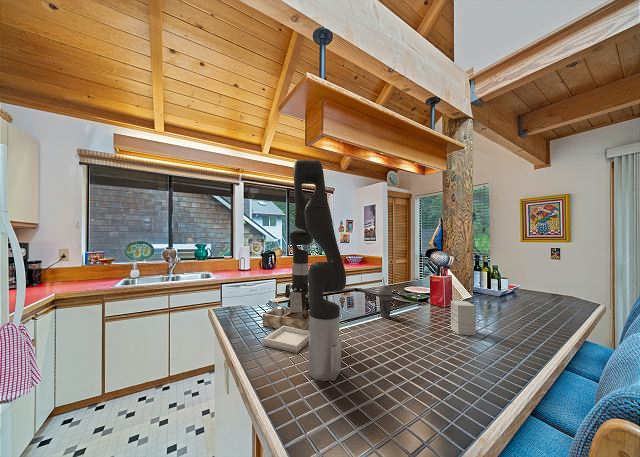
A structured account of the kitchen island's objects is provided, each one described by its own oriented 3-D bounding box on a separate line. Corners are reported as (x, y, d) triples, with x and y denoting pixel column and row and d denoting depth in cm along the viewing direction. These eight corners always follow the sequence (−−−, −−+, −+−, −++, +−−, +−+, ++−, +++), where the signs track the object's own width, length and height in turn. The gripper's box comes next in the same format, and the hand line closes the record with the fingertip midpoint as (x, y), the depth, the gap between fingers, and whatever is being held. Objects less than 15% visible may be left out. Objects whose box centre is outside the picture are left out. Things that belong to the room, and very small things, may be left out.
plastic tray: (313, 337, 97) (313, 331, 97) (296, 353, 84) (296, 345, 84) (283, 331, 103) (283, 325, 103) (263, 345, 90) (263, 338, 90)
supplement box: (467, 329, 110) (467, 301, 110) (476, 335, 102) (476, 305, 103) (450, 328, 110) (450, 300, 111) (457, 334, 103) (457, 304, 103)
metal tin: (287, 321, 115) (288, 306, 115) (282, 324, 110) (282, 309, 111) (278, 319, 117) (279, 305, 117) (272, 323, 112) (273, 307, 112)
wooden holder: (317, 322, 114) (317, 311, 114) (304, 333, 101) (304, 320, 101) (279, 316, 122) (279, 305, 122) (262, 325, 109) (262, 313, 109)
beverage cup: (394, 319, 120) (394, 279, 121) (379, 318, 121) (380, 278, 121) (390, 314, 128) (390, 276, 128) (376, 314, 128) (377, 276, 128)
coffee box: (303, 330, 105) (304, 292, 105) (289, 328, 106) (290, 291, 106) (308, 322, 114) (309, 288, 114) (295, 321, 115) (296, 287, 115)
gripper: (282, 272, 110) (281, 308, 109) (311, 275, 104) (310, 313, 104) (290, 270, 117) (290, 304, 116) (317, 273, 111) (317, 308, 111)
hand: (299, 308), depth 110 cm, fingers open, 8 cm apart
